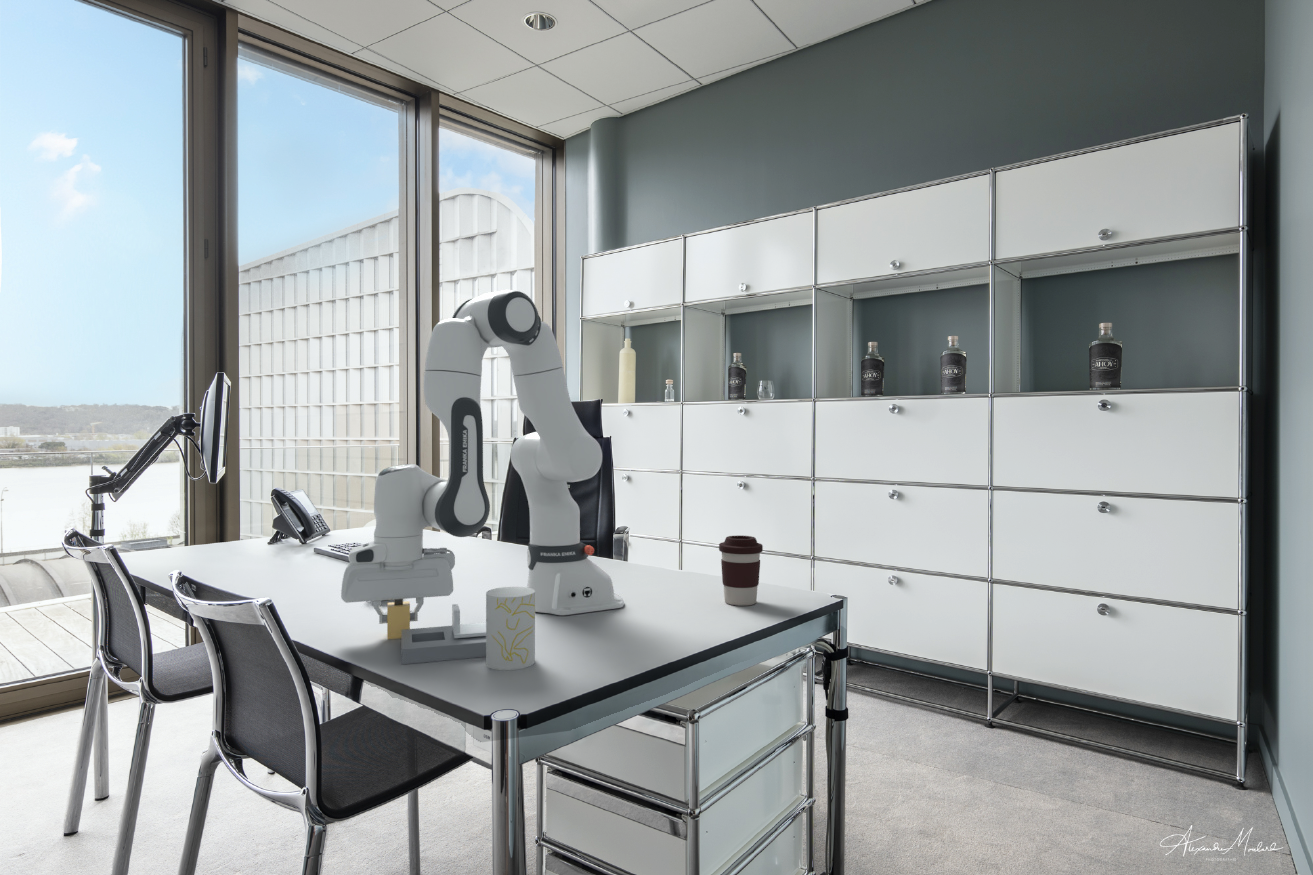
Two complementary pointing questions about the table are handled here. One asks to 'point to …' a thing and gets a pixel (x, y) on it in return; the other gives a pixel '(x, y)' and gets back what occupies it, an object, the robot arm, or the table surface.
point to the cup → (510, 628)
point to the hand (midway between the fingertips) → (398, 621)
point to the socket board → (439, 645)
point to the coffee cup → (740, 569)
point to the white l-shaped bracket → (465, 626)
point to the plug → (397, 618)
